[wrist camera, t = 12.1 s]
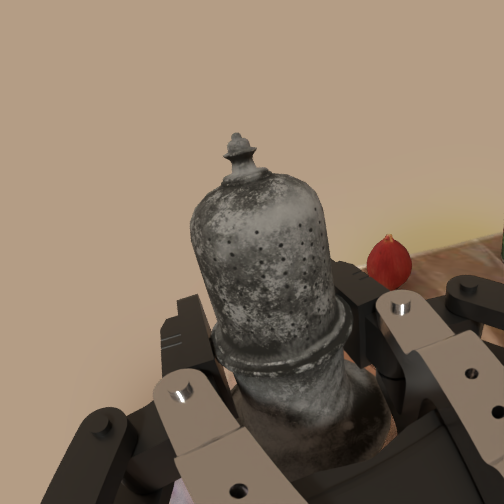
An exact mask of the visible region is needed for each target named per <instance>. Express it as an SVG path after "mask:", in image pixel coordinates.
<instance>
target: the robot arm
mask: <svg viewBox="0 0 504 504" xmlns="http://www.w3.org/2000/svg"><path fill="white" fill-rule="evenodd" d="M331 266H332V274H333V282H334V290H335V294H337V295H339V296H340V297H342V298H343V299H344V300H345V301H346V302H347V303H348V305H349V306H350V308H351V311H352V314H353V326H352V332H351V334H350V336H349V337H348V339H347V341H346V343H345V344H344V346H343V350H344V351H345V352H346V353H347V354H348V355H349V357H350V358H351V359H352V360H353V361H354V362H355V364H356V365H357V366H358V367H359V368H360V369H363V368H365V367H367V366H369V365H371V364H373V365H374V366H375V367H376V380H377V383H378V385H379V387H380V389H381V391H382V394H383V396H384V398H385V400H386V402H387V405H388V407H389V409H390V411H391V414H392V416H393V418H394V421H395V423H396V427H397V434H398V435H397V436H396V437H395V438H394V439H393V440H392V441H391V442H390V443H389V444H388V445H387V446H386V447H384V448H383V449H382V450H381V451H380V452H379V453H378V454H377V455H375V456H374V457H373V458H371V459H369V460H366V461H362V462H359V463H355V464H351V465H346V466H342V467H338V468H333V469H329V470H324V471H319V472H316V473H313V474H311V475H308V476H306V477H303V478H301V479H298V480H296V481H293V482H289V481H288V480H287V479H286V477H285V476H284V475H283V474H282V473H281V471H280V470H279V469H278V468H277V466H276V465H275V464H274V463H273V462H272V460H271V459H270V458H269V457H268V455H267V454H266V453H265V452H264V450H263V449H262V448H261V446H260V445H259V444H258V443H257V441H256V440H255V439H254V437H253V436H252V435H251V433H250V432H249V431H248V430H247V428H246V427H245V426H243V425H242V426H240V425H239V424H238V422H237V421H236V420H235V419H237V418H239V416H238V413H237V410H236V407H235V404H234V401H233V398H232V394H231V391H230V388H229V385H228V382H227V379H226V375H225V372H224V369H223V366H222V365H221V364H220V363H218V361H217V360H216V358H215V356H214V353H213V350H212V346H211V342H210V336H211V333H212V332H211V329H210V326H209V323H208V321H207V318H206V315H205V313H204V310H203V307H202V304H201V301H200V299H199V296H198V294H195V295H192V296H189V297H186V298H183V299H180V300H177V308H178V316H175V317H172V318H168V319H166V320H165V322H164V324H163V326H162V328H161V330H160V334H161V349H162V350H161V361H162V379H161V380H160V381H159V382H158V383H157V384H156V386H155V388H154V390H153V401H152V402H151V403H150V404H148V405H147V406H145V407H143V408H141V409H139V410H137V411H135V412H134V413H132V414H130V415H128V416H126V415H125V414H124V413H123V412H122V411H121V410H119V409H117V408H114V407H106V408H101V409H98V410H96V411H94V412H92V413H91V414H89V415H88V416H87V417H86V418H85V419H84V420H83V422H82V423H81V425H80V427H79V428H78V430H77V432H76V434H75V436H74V438H73V440H72V442H71V443H70V445H69V447H68V449H67V451H66V453H65V455H64V457H63V459H62V461H61V463H60V465H59V467H58V469H57V471H56V473H55V475H54V477H53V479H52V481H51V483H50V485H49V487H48V489H47V491H46V493H45V495H44V497H43V499H42V502H41V504H169V502H170V498H171V494H172V491H173V487H174V481H176V480H178V479H180V478H181V477H182V480H183V482H184V484H185V486H186V488H187V490H188V492H189V494H190V496H191V498H192V500H193V502H194V504H504V348H503V347H500V346H497V345H495V344H492V343H489V342H486V341H483V340H481V335H482V330H483V326H484V324H486V325H489V326H492V327H495V328H498V329H501V330H504V284H502V283H499V282H495V281H491V280H488V279H484V278H480V277H477V276H472V275H460V276H456V277H454V278H452V279H450V280H449V281H448V283H447V287H446V295H444V296H440V297H436V298H432V299H427V300H425V299H424V298H423V297H422V296H421V295H420V294H418V293H416V292H413V291H410V290H394V291H390V290H389V289H387V288H386V287H384V286H383V285H382V284H380V283H379V282H377V281H376V280H375V279H373V278H372V277H369V275H367V274H366V273H365V272H362V271H361V270H360V269H359V268H357V267H356V266H355V265H353V264H349V263H346V262H342V261H338V262H335V261H333V260H332V259H331Z"/></svg>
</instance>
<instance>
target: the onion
mask: <svg viewBox="0 0 504 504" xmlns="http://www.w3.org/2000/svg"><path fill="white" fill-rule="evenodd" d="M411 269H412V261H411V258H410V256H409V253H408V251H407V249H406V248H405V247H404V246H403V245H401V244H400V243H399V242H398V241H396V240H394V239H393V238H392V235H391V234H387V235H386V236H385V238H384V239H383V240H381V241H380V242H379V243H377V244H376V245H375V246H374V248H373V250H372V251H371V253H370V254H369V256H368V259H367V271H368V274H369V277H372V278H373V279H375V280H376V281H377V282H379V283H380V284H382V285H383V286H384V287H386V288H387V289H389V290H390V291H394V290H395V289H397V288H398V287H399V286H401V285H402V284H403V283H405V282H406V280H407V279H408V277H409V275H410V273H411Z"/></svg>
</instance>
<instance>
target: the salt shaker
mask: <svg viewBox="0 0 504 504" xmlns="http://www.w3.org/2000/svg"><path fill="white" fill-rule="evenodd" d="M231 138H232V141H230V142H229V143H228V145H227V149H228V153H227V154H225V155H224V156H223V157H224V158H226V159H228V160H230V161H231V163H232V174H230V175H228V176H226V177H224V178H223V182H222V183H221V186H219V187H217V188H216V189H214V190H213V191H211V192H209V193H208V194H207V195H206V196H205V198H204V199H203V200H202V201H201V202H200V203H199V204H198V206H197V207H196V208H195V210H194V213H193V215H192V218H191V221H190V233H191V242H192V245H193V249H194V252H195V255H196V258H197V261H198V264H199V267H200V270H201V273H202V276H203V279H204V283H205V286H206V289H207V292H208V294H209V298H210V301H211V304H212V306H213V309H214V312H215V315H216V318H217V323H216V324H215V326H214V327H213V329H212V333H211V336H210V342H211V346H212V350H213V353H214V356H215V358H216V360H217V361H218V363H220V364H221V365H222V366H224V367H225V368H227V369H228V370H229V371H231V372H233V374H234V377H235V379H236V382H237V384H236V385H235V386H234V387H233V389H232V390H231V394H232V398H233V401H234V404H235V407H236V410H237V413H238V416H239V418H237V419H235V420H236V421H237V422H238V424H239V425H240V426H242V425H243V426H245V427H246V428H247V430H248V431H249V432H250V433H251V435H252V436H253V437H254V439H255V440H256V441H257V443H258V444H259V445H260V446H261V448H262V449H263V450H264V452H265V453H266V454H267V455H268V457H269V458H270V459H271V460H272V462H273V463H274V464H275V465H276V466H277V468H278V469H279V470H280V471H281V473H282V474H283V475H284V476H285V477H286V479H287V480H288V481H289V482H293V481H296V480H298V479H301V478H303V477H306V476H308V475H311V474H313V473H316V472H319V471H324V470H329V469H333V468H338V467H342V466H346V465H351V464H355V463H359V462H362V461H366V460H369V459H371V458H373V457H374V456H375V455H377V454H378V453H379V451H380V450H381V449H382V447H383V444H384V442H385V440H386V437H387V435H388V432H389V430H390V423H391V411H390V409H389V407H388V405H387V402H386V400H385V398H384V396H383V394H382V391H381V389H380V387H379V385H378V383H377V380H376V376H374V375H373V374H372V373H370V372H369V371H368V370H366V369H365V368H363V369H360V368H359V367H358V366H357V365H356V364H355V363H353V362H351V361H349V360H346V359H344V350H343V346H344V344H345V343H346V341H347V339H348V337H349V336H350V334H351V332H352V326H353V314H352V311H351V308H350V306H349V305H348V303H347V302H346V301H345V300H344V299H343V298H342V297H340V296H339V295H337V294H335V290H334V282H333V274H332V266H331V258H330V251H329V244H328V237H327V231H326V224H325V218H324V212H323V208H322V206H321V203H320V200H319V198H318V196H317V194H316V192H315V191H314V190H313V189H312V188H311V187H310V186H309V185H308V184H307V183H305V182H303V181H301V180H299V179H296V178H294V177H292V176H290V175H287V174H275V173H272V172H271V171H268V169H267V168H263V167H262V168H256V166H255V163H254V161H253V159H252V157H253V154H254V152H255V151H256V149H257V148H255V147H250V144H249V141H248V140H247V139H245V138H242V137H241V135H240V134H239V133H234V134H233V135H232V137H231Z"/></svg>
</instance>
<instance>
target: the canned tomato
mask: <svg viewBox="0 0 504 504" xmlns="http://www.w3.org/2000/svg"><path fill="white" fill-rule="evenodd" d="M501 260H502V261H503V263H504V229H503V243H502V253H501Z"/></svg>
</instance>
